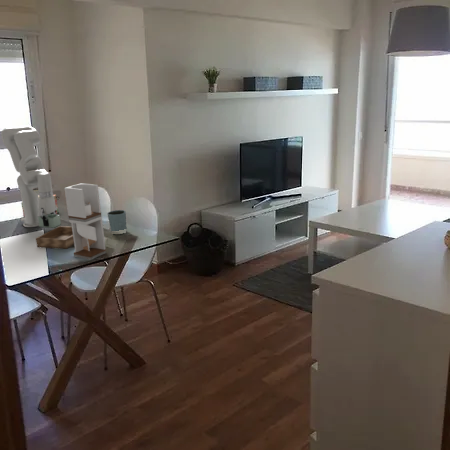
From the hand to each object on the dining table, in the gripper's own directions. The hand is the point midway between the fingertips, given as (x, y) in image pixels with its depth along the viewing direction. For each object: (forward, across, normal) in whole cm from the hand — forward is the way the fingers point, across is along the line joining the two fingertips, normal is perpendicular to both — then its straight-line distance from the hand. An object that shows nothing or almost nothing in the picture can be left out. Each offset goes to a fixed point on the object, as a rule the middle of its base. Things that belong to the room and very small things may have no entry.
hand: (50, 223), depth 295 cm
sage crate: (+1, 0, 0) cm, 1 cm away
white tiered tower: (+3, +31, +43) cm, 53 cm away
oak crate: (+4, +14, +17) cm, 22 cm away
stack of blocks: (+8, -36, -32) cm, 48 cm away
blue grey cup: (+4, -5, +41) cm, 41 cm away
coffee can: (+9, -53, -46) cm, 71 cm away
